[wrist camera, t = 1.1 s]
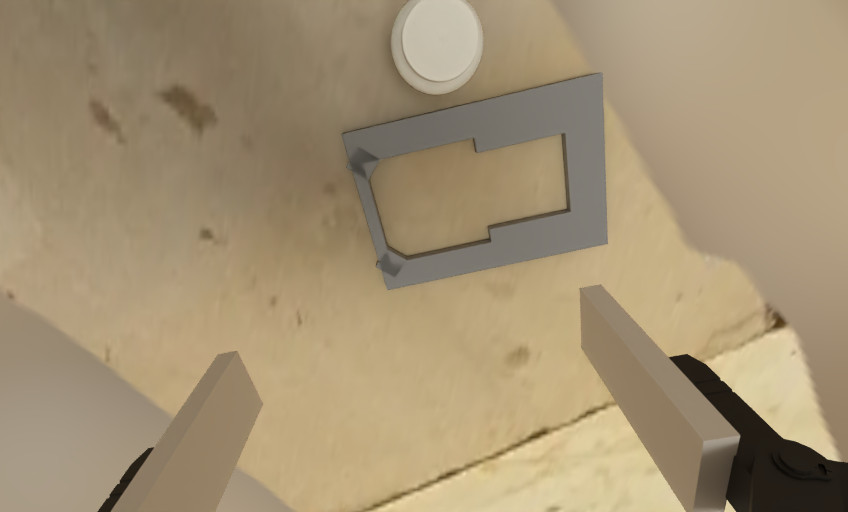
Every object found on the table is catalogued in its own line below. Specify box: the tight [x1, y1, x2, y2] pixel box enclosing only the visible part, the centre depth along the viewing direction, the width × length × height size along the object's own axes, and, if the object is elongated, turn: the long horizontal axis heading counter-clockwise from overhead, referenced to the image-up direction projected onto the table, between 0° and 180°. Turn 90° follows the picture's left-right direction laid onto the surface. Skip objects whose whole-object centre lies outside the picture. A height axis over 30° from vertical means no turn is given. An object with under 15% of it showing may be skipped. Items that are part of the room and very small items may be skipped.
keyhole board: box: [341, 73, 608, 290], centre depth 33 cm, size 14×20×1 cm
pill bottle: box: [391, 0, 483, 95], centre depth 24 cm, size 5×5×10 cm
